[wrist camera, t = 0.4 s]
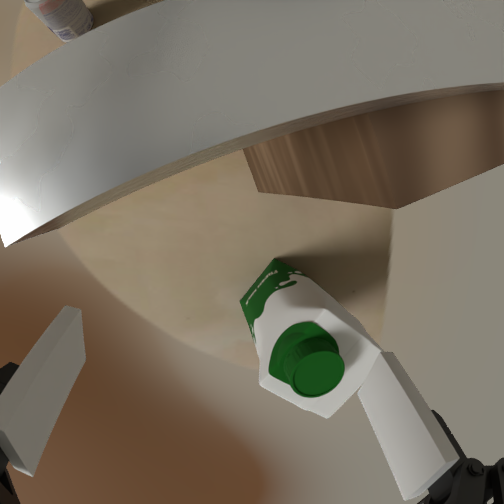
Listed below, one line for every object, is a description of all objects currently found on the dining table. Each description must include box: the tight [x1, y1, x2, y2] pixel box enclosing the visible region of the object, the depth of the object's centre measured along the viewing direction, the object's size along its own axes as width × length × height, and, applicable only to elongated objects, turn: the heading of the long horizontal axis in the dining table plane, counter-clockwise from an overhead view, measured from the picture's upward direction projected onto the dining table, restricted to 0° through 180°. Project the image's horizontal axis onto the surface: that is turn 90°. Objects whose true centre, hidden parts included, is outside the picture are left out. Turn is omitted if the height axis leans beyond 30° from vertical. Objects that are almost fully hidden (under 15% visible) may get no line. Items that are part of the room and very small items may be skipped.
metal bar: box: [0, 0, 504, 247], centre depth 6 cm, size 26×4×4 cm, turn 110°
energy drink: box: [24, 0, 93, 43], centre depth 22 cm, size 5×5×12 cm
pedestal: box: [243, 90, 504, 209], centre depth 22 cm, size 14×10×28 cm
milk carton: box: [240, 258, 384, 419], centre depth 30 cm, size 9×9×20 cm
